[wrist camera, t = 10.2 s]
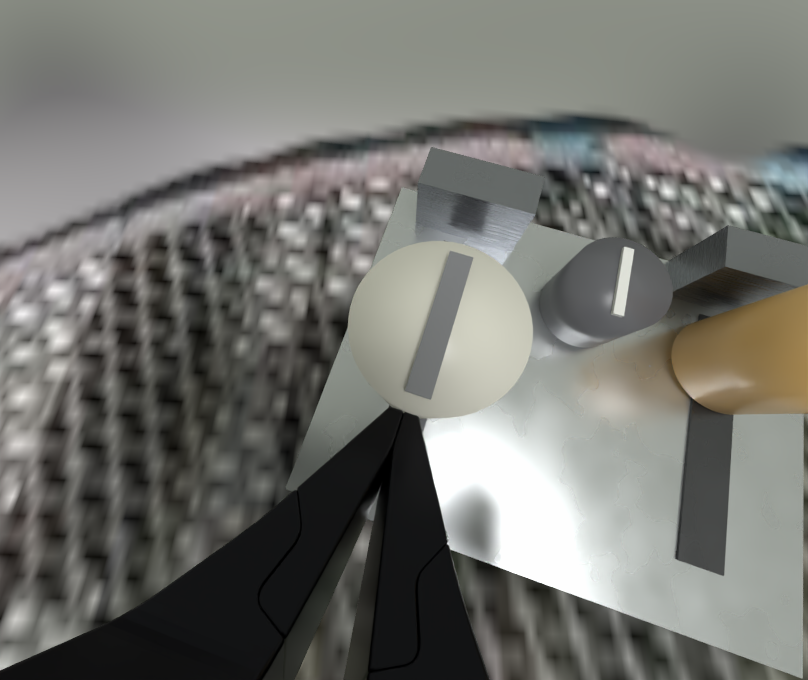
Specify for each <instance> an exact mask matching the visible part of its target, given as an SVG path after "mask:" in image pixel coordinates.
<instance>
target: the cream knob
mask: <svg viewBox="0 0 808 680" xmlns="http://www.w3.org/2000/svg"><path fill="white" fill-rule="evenodd" d="M348 336H349V343H350V347H351V351H352V354H353V357H354V360H355V362H356V364H357V366H358V368H359V370H360V372H361V373H362V375H363V376H364V378H365V379H366V380H367V382H368V383H369V384H370V385H371V387H372V388H373V389H374V390H375V391H376V392H377V393H378V394H379V395H380V396H381V397H382V398H383V399H384V400H385V401H386V402H387V403H388V404H389V405H390V406H391V407H393V408H396V409H400V410H402V411H403V413H404V412H407V413H410V414H413V415H417V416H418V417H419V419H431V418H453V417H459V416H465V415H468V414H472V413H475V412H478V411H480V410H482V409H484V408H487V407H488V406H490V405H492V404H493V403H495V402H496V401H498V400H499V399H500V398H501V397H503V396H504V395H505V394H506V393H507V392H508V391H509V390H510V389H511V388H512V387H513V386H514V384H515V383H516V382H517V380H518V379H519V377H520V376H521V374H522V373H523V371H524V368H525V366H526V364H527V362H528V359H529V355H530V352H531V347H532V340H533V325H532V316H531V312H530V308H529V305H528V302H527V300H526V297H525V295H524V293H523V291H522V289H521V288H520V286H519V284H518V283H517V281H516V280H515V279H514V277H513V276H512V275H511V274H510V273H509V272H508V271H507V270H506V268H505V267H504V266H502V265H501V264H500V263H499V262H497V261H496V260H495V259H493V258H492V257H490V256H489V255H487V254H486V253H484V252H482V251H480V250H477V249H475V248H473V247H470V246H467V245H464V244H459V243H455V242H447V241H428V242H420V243H416V244H412V245H408V246H406V247H403V248H401V249H398V250H396V251H394V252H393V253H391V254H389V255H387V256H386V257H385V258H383V259H382V260H380V261H379V262H378V263H377V264H376V265H375V266H374V267H372V268H371V270H370V271H369V272H368V273H367V274H366V275H365V277H364V278H363V280H362V281H361V283H360V284H359V286H358V288H357V290H356V292H355V294H354V297H353V300H352V303H351V306H350V311H349V317H348Z"/></svg>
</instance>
